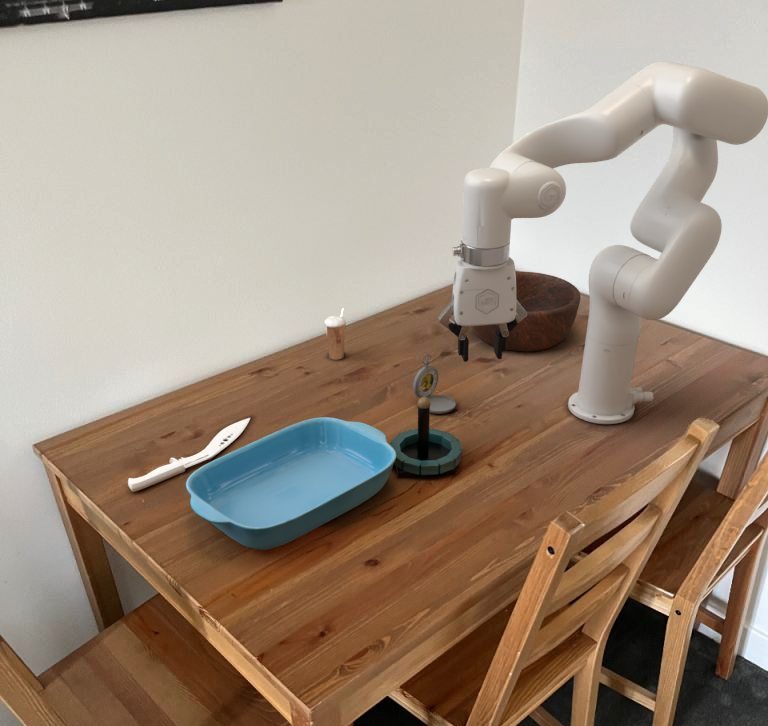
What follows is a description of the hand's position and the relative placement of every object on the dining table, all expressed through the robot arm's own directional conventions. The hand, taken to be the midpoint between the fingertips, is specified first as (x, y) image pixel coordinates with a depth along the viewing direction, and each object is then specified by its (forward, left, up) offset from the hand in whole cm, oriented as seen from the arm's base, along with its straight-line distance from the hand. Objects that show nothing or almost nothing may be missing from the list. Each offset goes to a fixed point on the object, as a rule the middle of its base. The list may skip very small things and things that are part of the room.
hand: (481, 355), depth 145 cm
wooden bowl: (-19, -47, -18) cm, 53 cm away
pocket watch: (+5, -16, -18) cm, 24 cm away
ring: (+10, +4, -17) cm, 20 cm away
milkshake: (+23, -40, -18) cm, 49 cm away
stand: (+10, +4, -18) cm, 21 cm away
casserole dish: (+33, +14, -18) cm, 40 cm away
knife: (+51, -2, -18) cm, 54 cm away
